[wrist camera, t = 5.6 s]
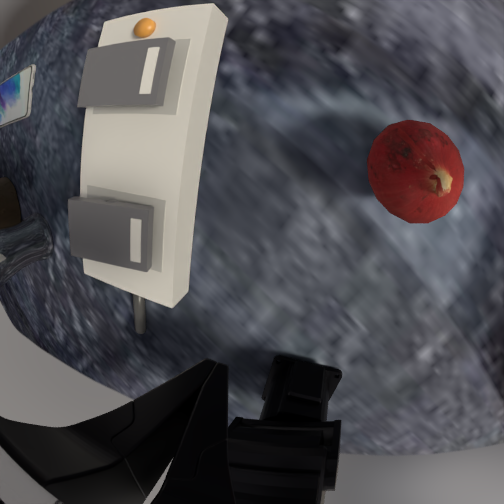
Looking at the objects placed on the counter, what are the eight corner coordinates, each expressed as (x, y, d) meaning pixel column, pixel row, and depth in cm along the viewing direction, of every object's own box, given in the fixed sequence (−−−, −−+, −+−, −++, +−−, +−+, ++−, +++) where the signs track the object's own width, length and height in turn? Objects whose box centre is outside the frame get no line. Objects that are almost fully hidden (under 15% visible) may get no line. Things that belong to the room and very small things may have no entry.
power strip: (185, 346, 27) (169, 368, 24) (108, 313, 29) (89, 330, 26) (228, 19, 16) (210, -1, 13) (125, 30, 18) (100, 20, 14)
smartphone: (27, 116, 23) (-13, 132, 26) (33, 116, 24) (-8, 131, 27) (33, 62, 20) (-10, 90, 23) (38, 62, 21) (-6, 89, 24)
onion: (343, 164, 18) (353, 174, 11) (397, 108, 16) (438, 86, 8) (399, 224, 18) (435, 269, 11) (451, 171, 16) (511, 188, 9)
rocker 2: (153, 263, 21) (146, 272, 20) (80, 248, 21) (70, 255, 19) (156, 205, 19) (148, 210, 18) (78, 194, 19) (67, 199, 18)
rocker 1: (166, 106, 16) (154, 104, 15) (90, 107, 17) (76, 107, 16) (179, 43, 14) (168, 36, 13) (100, 52, 15) (87, 49, 14)
